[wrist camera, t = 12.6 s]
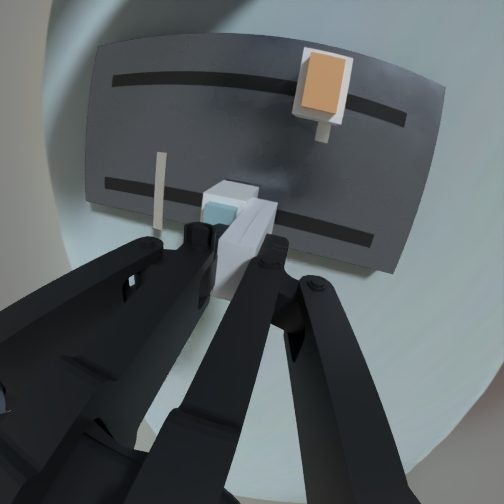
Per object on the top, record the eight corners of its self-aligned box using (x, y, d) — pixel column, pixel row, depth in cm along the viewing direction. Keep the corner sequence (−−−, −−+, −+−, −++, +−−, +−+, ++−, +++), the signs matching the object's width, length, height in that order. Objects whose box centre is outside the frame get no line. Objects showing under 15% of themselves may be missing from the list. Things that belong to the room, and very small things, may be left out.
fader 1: (223, 179, 18) (198, 195, 14) (259, 187, 17) (243, 205, 14) (217, 229, 19) (193, 256, 15) (250, 237, 19) (233, 267, 15)
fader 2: (305, 63, 13) (303, 42, 10) (345, 72, 13) (355, 54, 9) (295, 116, 15) (290, 112, 11) (334, 125, 15) (342, 124, 11)
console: (112, 49, 16) (97, 46, 15) (434, 90, 14) (446, 87, 12) (99, 204, 23) (86, 211, 21) (382, 272, 20) (388, 285, 19)
